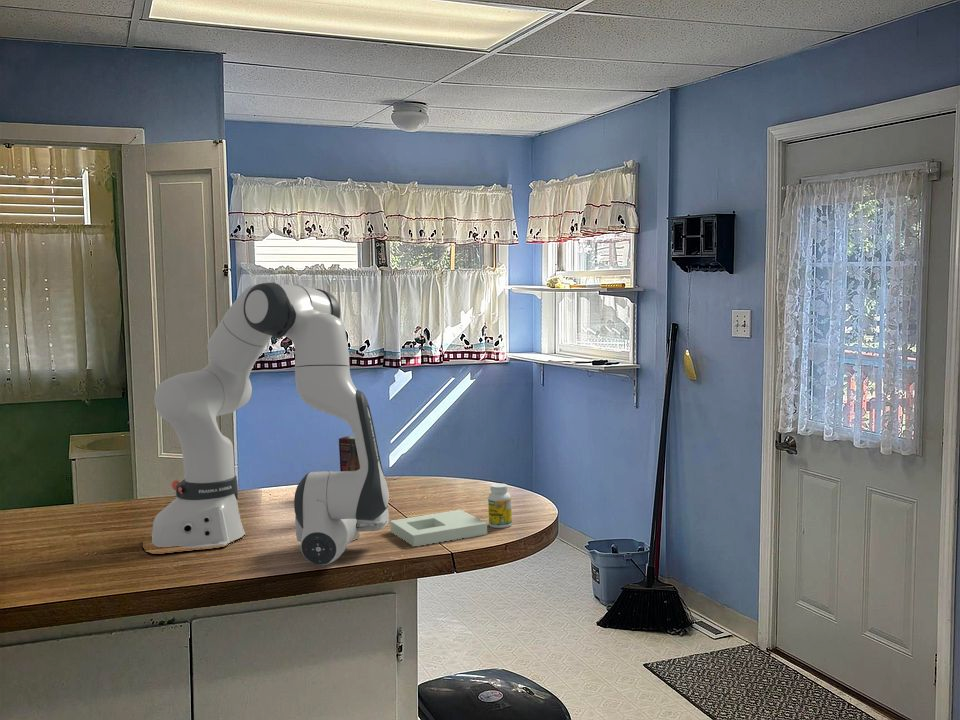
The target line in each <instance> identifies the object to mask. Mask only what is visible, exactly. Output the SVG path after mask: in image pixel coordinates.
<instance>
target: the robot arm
mask: <svg viewBox="0 0 960 720" xmlns="http://www.w3.org/2000/svg"><path fill="white" fill-rule="evenodd" d="M340 318H341V309H340V304H339V301H338V299H336V297H335V296H334V295H333V294H331V293H330V292H328V291H325V290H323V289H321V288H313V287H310V286H305V285H302V284H301V285H300V284H287V283H277V282H262V283H256V284H252V285H249V286H248V287H247V288H245V289H244V291H242V293H241V294H239V296H237V298H236V299H235V300H234V301H233V303H232V304H231V305H230V307H229V308H228V309H227V311H226V312H225V314H224V316H222V319H221V321H220V322H219V323H218V325H217V327H216V328H215V330H214V332H212V335H211V336H210V339H209V340H208V342H207V345H206V349H207V352H208V356H209V357H210V359H209V362H208V363H207V365H206V366H205V367H203V368H202V369H200V370H196V371H189V372H184V373H178V374H175V375H173V376H171V377H169V378H167V379H165V380H163V381H162V382H160V383H159V384H158V386H157V387H156V389H155V392H154V397H153V398H154V399H153V400H154V406H155V409H156V411H157V413H158V415H159V416H160V417H161V419H162V420H163V419H164V421H166V422H167V423H169V424H170V425H171V427H172V429H173V430H174V432H175V433H176V436H177V437H178V441H179V443H180V447H181V454H182V461H183V462H182V463H183V464H182V465H183V476H184V479H183V480H181V481H179V480H177V479H175V480H172V482H171V488H172V489H173V490H174V491H175V496H176V497H175V498H174V499H173V500H172V501H171V502H169V504H168V505H166V506H165V507H164V508H163V509H162V510H161V511H159V512H158V513H157V514H156V516H155V517H154V520H153V523H152V529H151V535H152V543H153V544H154V545H155V546H157V547H171V546H183V547H185V548H190V547H191V548H195V547H206V546H208V547H209V546H219V545H226V544H227V543H229V542H230V541H233V540H236V539H238V538H240V537H242V536H243V535H244V534H245V535H246V531H245V530H244V526H243V523H242V520H241V515H240V511H239V504H238V499H239V484H238V477H237V475H236V474H235V473H236V472H235V460H234V459H235V458H234V456H235V455H234V445H233V442H232V440H231V439H230V438H228V437H227V436H226V435H223V434H222V432H221V429H220V427H219V424H218V422H217V417H219V416H223V415H228V414H232V413H234V412H236V411H238V410H239V409H241V408H243V407H244V406H245V405H247V404H248V403H249V401H251V400H250V399H251V397H252V393H253V386H252V383H251V380H250V375H251V372H252V369H253V368H254V366H255V364H256V362H257V361H258V359H259V358H260V356H261V354H262V353H263V351H264V350H265V349H266V346H267V345H268V344H269V342H270V340H271V339H272V337H274V338H277V339H281V338H283V337H286V338H288V339H290V341H291V342H292V344H293V345H294V356H295V357H294V367H295V368H294V377H295V378H294V379H295V385H296V386H295V388H296V392H297V394H298V396H299V397H300V398H301V400H302V401H303V402H304V403H306V405H307V406H308V407H311V408H313V409H315V410H317V411H319V412H321V413H325V414H328V415H331V416H333V417H336V418H339V419H340V420H342V421H343V422H345V423H346V424H347V425H349V427H350V428H351V430H352V433H353V436H354V438H355V443H356V448H357V453H358V459H359V464H360V469H359V470H357V471H340V470H339V471H331V470H329V471H327V470H326V471H325V470H324V471H310V472H308V473H306V474H305V475H304V476H303V477H302V478H301V480H300V481H299V483H298V484H297V486H296V488H295V493H294V500H293V501H294V503H293V504H294V507H293V508H294V514H295V517H294V518H295V521H294V524H295V527H294V528H295V529H294V530H295V535H296V540H297V541H298V542H300V551H301V553H302V556H303V557H304V559H306V560H307V561H308V562H310V563H312V564H314V565H318V566H325V565H329V564H331V563H333V562H335V561H337V560H338V559H339V558H340V557H341V556H342V555H343V553H344V552H345V551H346V549H347V548H348V545H350V543H351V542H352V541H351V540H352V539H353V537H354V536H355V534H356V532H357V531H359V532H378V531H381V530H383V529H384V528H386V526H387V525H388V524H390V513H389V512H390V511H389V508H388V506H389V501H390V494H389V486H388V482H387V481H386V477H385V473H384V470H383V466H382V461H381V457H380V456H381V455H380V452H379V446H378V441H377V436H376V435H377V434H376V430H375V426H374V422H373V415H372V412H371V409H370V404H369V402H368V399H367V397H366V395H365V393H364V392H363V391H361V390H359V389H357V387H356V386H355V384H354V382H353V379H352V376H351V367H350V353H349V345H348V337H347V332H346V328H345V325H344V323H343V321H342V319H340Z"/></svg>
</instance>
